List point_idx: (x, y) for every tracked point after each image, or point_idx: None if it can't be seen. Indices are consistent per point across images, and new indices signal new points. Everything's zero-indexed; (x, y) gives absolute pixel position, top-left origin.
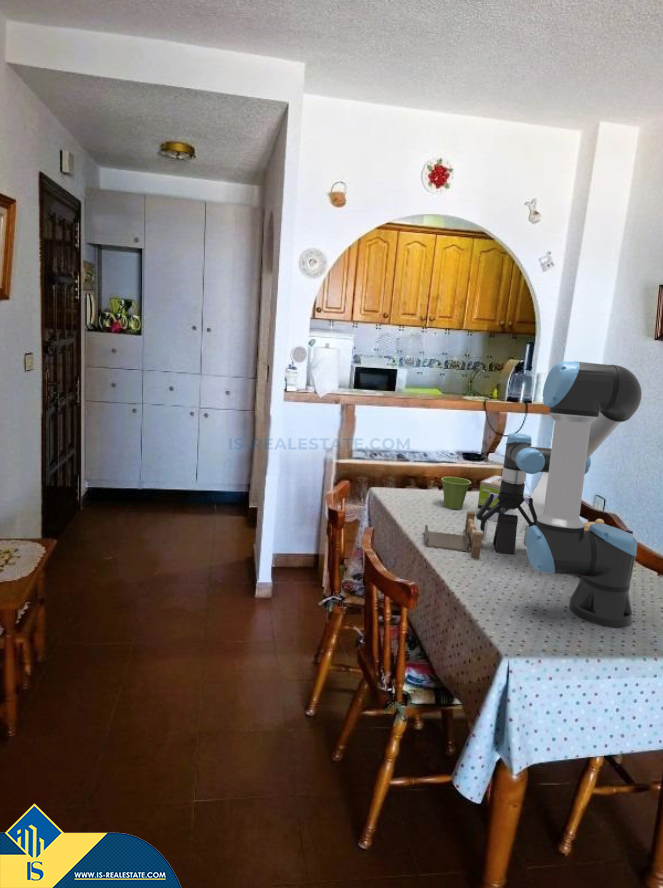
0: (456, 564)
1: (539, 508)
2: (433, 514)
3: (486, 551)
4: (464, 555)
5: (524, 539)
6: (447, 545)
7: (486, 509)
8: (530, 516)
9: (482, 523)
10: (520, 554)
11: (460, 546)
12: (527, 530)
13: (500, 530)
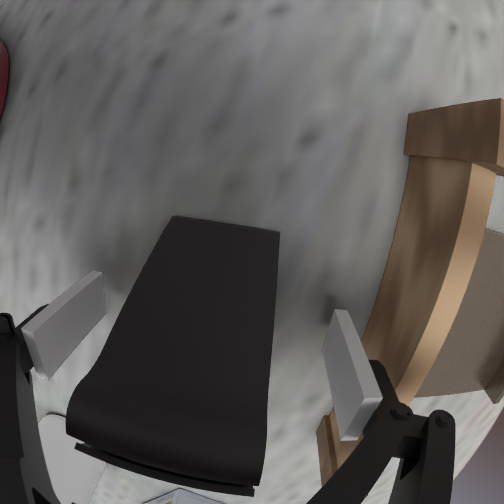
0: (500, 65)
1: None
2: (364, 499)
3: (331, 243)
4: None
5: (91, 316)
6: (501, 260)
7: (419, 501)
8: (83, 478)
9: (390, 398)
10: (139, 233)
11: None
12: (44, 321)
13: (249, 340)
